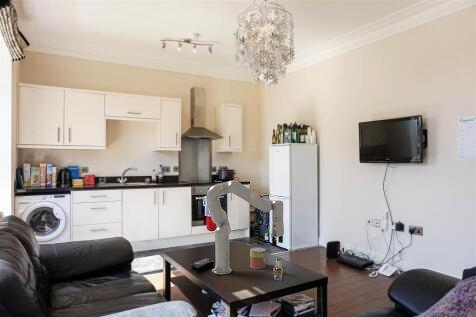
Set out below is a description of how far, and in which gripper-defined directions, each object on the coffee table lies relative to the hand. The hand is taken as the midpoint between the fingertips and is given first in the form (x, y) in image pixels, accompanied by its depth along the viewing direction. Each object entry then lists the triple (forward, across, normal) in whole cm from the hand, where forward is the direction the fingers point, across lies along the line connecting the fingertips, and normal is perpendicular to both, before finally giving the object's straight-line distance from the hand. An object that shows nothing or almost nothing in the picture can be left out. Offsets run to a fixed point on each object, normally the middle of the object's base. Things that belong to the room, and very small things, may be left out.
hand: (277, 244), depth 217 cm
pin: (+19, 0, 0) cm, 19 cm away
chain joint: (+19, 0, 0) cm, 19 cm away
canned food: (+20, +6, +18) cm, 28 cm away
